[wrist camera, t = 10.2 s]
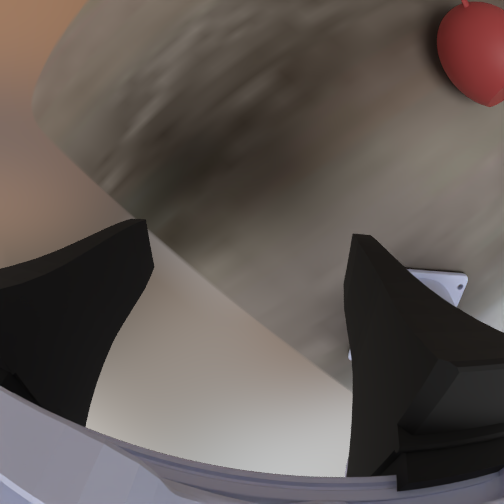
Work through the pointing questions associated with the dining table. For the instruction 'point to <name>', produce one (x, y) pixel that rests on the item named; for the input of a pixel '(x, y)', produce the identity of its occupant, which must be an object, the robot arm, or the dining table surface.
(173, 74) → the dining table surface
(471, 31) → the fruit
